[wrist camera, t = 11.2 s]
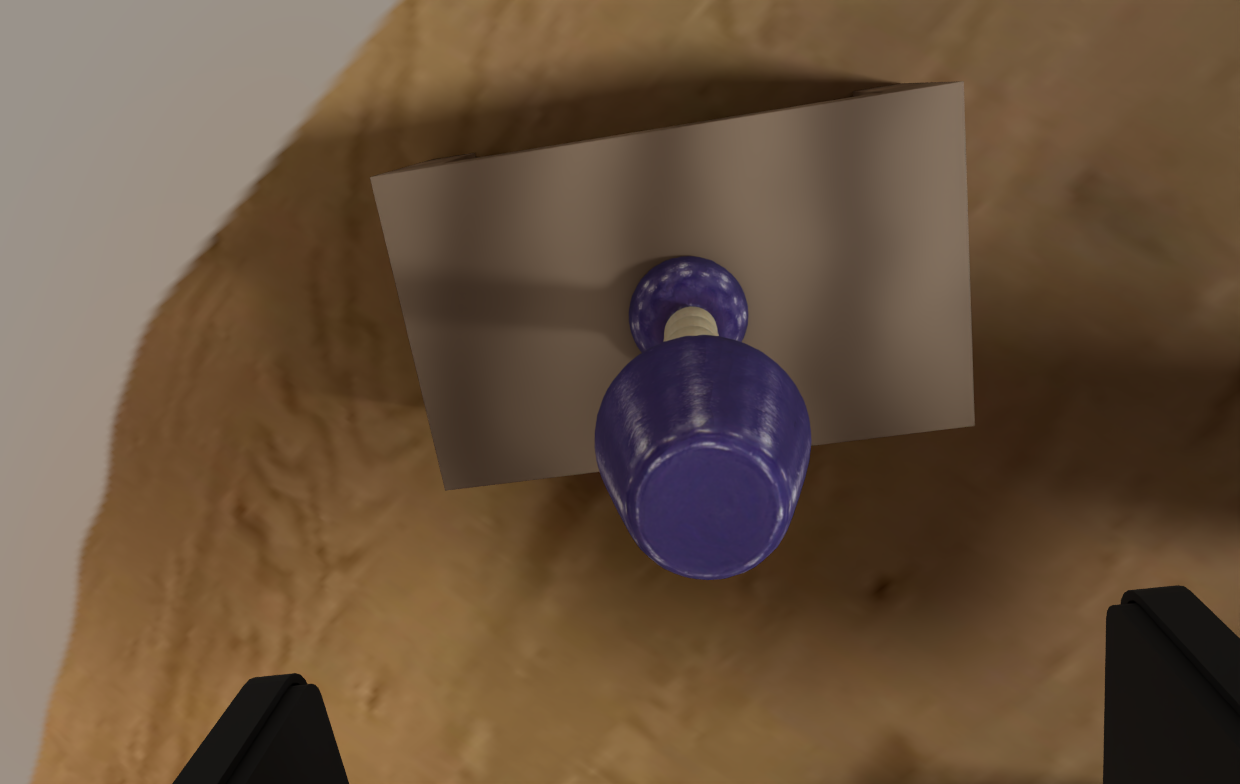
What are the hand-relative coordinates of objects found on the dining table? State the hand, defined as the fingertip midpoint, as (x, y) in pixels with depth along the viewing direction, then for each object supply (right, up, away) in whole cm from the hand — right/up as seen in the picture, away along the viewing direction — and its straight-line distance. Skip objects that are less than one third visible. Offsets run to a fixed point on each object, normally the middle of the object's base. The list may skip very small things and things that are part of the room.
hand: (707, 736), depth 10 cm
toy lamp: (+1, +7, +21) cm, 22 cm away
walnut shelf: (+2, +10, +28) cm, 30 cm away
